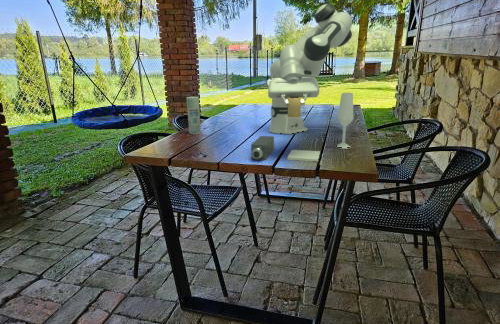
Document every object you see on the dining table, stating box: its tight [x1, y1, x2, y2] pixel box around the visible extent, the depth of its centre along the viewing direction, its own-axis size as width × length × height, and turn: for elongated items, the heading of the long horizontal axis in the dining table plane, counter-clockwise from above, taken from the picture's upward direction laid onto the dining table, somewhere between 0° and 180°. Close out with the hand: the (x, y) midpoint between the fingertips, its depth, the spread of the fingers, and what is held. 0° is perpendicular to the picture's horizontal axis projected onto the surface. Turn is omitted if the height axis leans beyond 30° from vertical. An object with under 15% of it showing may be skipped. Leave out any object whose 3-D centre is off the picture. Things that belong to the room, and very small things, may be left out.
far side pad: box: [286, 149, 321, 163], centre depth 127 cm, size 12×12×1 cm
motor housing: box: [250, 135, 275, 161], centre depth 130 cm, size 22×6×6 cm, turn 164°
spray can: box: [186, 96, 201, 135], centre depth 171 cm, size 6×6×20 cm
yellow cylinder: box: [288, 95, 302, 118], centre depth 120 cm, size 5×5×8 cm
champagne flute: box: [336, 92, 354, 149], centre depth 138 cm, size 7×7×24 cm
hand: (294, 104), depth 119 cm, fingers closed on yellow cylinder, 5 cm apart
